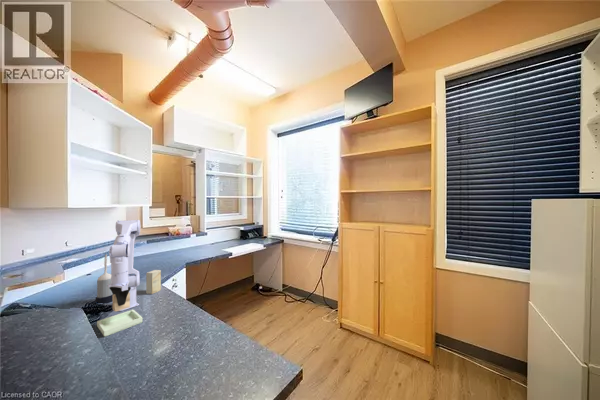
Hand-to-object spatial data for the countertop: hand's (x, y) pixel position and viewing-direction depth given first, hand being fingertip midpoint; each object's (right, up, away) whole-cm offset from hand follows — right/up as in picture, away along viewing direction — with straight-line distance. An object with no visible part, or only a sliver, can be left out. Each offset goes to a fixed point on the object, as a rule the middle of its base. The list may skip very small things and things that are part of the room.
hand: (120, 303), depth 93 cm
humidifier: (-27, -10, +23) cm, 37 cm away
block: (0, -2, 0) cm, 2 cm away
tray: (0, -9, 0) cm, 9 cm away
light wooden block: (-9, -10, +34) cm, 37 cm away
